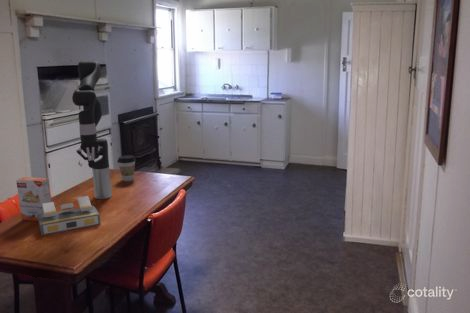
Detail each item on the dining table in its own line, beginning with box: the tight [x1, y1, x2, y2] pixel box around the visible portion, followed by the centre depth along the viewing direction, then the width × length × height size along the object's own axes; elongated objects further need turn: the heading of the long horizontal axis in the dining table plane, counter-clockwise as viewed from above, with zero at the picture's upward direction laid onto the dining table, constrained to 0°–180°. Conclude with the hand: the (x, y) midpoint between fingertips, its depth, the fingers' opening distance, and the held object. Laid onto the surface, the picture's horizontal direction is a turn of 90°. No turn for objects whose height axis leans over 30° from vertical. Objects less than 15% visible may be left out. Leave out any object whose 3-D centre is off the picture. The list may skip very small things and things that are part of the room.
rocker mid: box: [60, 202, 75, 211], centre depth 217 cm, size 9×5×2 cm, turn 27°
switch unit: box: [38, 205, 101, 236], centre depth 216 cm, size 14×26×6 cm, turn 117°
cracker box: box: [16, 176, 52, 222], centre depth 223 cm, size 14×6×21 cm, turn 78°
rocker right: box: [77, 195, 93, 212], centre depth 220 cm, size 9×5×2 cm, turn 28°
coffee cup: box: [117, 154, 137, 182], centre depth 288 cm, size 11×11×15 cm
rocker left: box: [42, 201, 57, 218], centre depth 213 cm, size 9×5×2 cm, turn 28°
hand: (91, 167), depth 221 cm, fingers closed
